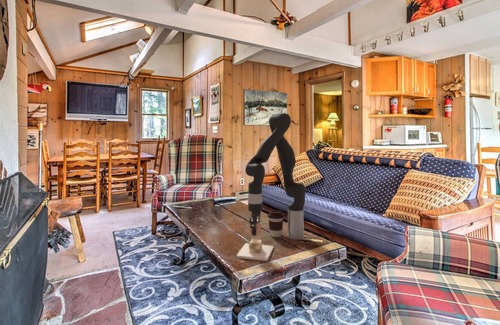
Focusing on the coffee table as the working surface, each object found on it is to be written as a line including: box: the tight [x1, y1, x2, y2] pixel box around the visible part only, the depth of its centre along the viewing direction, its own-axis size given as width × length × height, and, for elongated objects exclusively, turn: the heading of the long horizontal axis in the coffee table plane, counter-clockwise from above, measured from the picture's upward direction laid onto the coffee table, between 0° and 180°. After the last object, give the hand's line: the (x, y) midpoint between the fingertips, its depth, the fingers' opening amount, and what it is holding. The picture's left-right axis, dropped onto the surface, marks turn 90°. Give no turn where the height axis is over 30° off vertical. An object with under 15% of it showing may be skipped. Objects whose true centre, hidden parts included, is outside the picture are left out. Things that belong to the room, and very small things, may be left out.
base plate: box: [236, 242, 274, 262], centre depth 144 cm, size 16×16×1 cm
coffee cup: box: [267, 209, 285, 238], centre depth 167 cm, size 10×10×15 cm
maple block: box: [249, 238, 263, 253], centre depth 143 cm, size 6×6×5 cm
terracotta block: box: [248, 223, 262, 237], centre depth 142 cm, size 5×5×5 cm
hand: (255, 233), depth 143 cm, fingers closed on terracotta block, 5 cm apart
